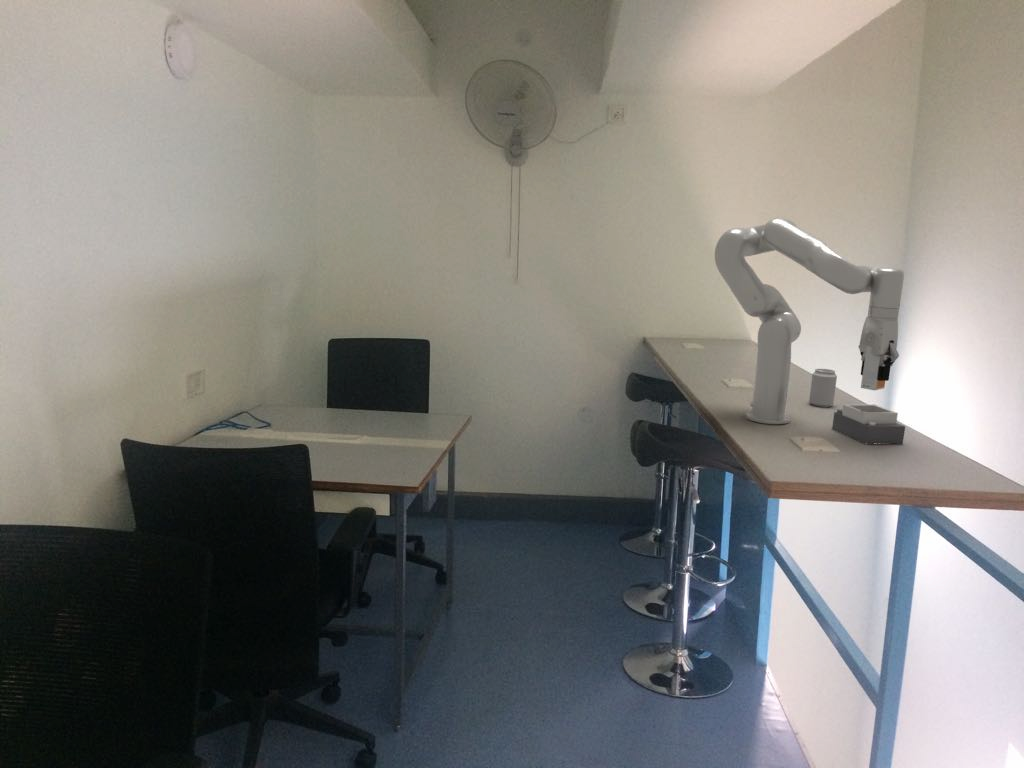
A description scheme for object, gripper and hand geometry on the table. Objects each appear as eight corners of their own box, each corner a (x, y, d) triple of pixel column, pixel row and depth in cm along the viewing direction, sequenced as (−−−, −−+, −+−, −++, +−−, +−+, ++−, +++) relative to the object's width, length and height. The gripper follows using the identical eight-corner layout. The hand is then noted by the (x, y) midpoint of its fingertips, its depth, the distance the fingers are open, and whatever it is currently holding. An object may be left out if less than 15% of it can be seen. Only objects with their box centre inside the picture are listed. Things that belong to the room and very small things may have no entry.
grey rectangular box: (832, 428, 219) (835, 401, 217) (866, 428, 221) (869, 401, 219) (866, 444, 203) (870, 415, 202) (902, 443, 205) (906, 414, 203)
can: (836, 408, 245) (841, 372, 243) (813, 407, 245) (818, 371, 243) (827, 403, 253) (832, 368, 250) (805, 402, 253) (809, 367, 250)
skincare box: (875, 391, 205) (881, 348, 203) (860, 388, 209) (865, 345, 206) (885, 388, 209) (891, 346, 207) (869, 385, 213) (875, 344, 210)
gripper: (851, 309, 212) (843, 371, 216) (891, 317, 196) (882, 384, 199) (875, 310, 214) (866, 371, 217) (917, 317, 197) (907, 384, 201)
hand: (874, 377), depth 208 cm, fingers closed on skincare box, 6 cm apart
